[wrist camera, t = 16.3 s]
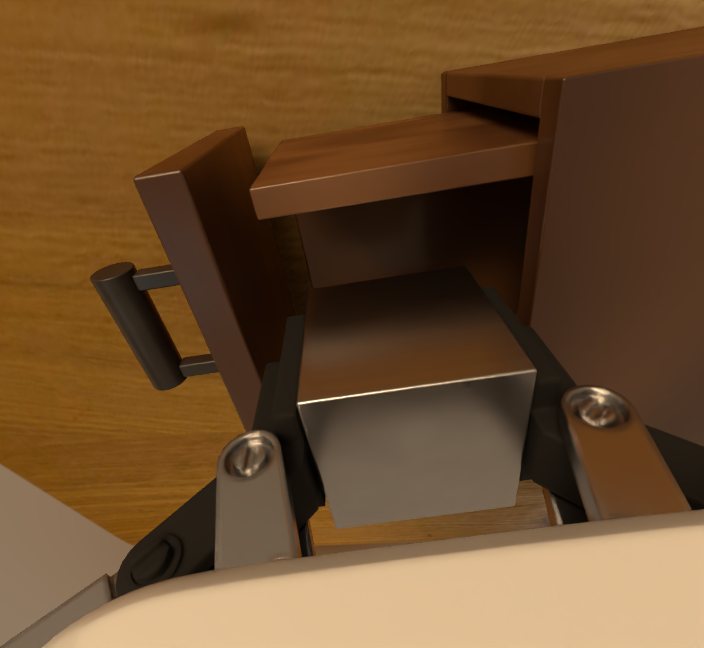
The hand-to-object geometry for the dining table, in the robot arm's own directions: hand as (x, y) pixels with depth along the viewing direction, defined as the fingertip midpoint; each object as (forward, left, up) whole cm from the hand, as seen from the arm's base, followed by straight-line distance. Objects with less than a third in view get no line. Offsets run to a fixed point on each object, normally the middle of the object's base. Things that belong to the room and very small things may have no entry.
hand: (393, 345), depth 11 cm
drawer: (-1, 0, -8) cm, 8 cm away
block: (0, 0, 0) cm, 0 cm away
